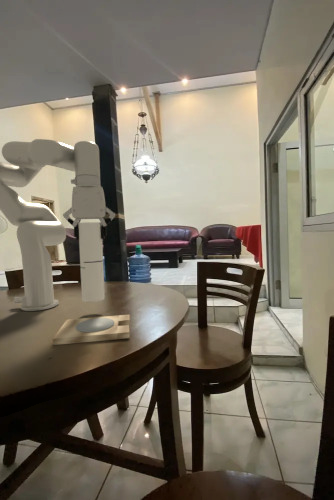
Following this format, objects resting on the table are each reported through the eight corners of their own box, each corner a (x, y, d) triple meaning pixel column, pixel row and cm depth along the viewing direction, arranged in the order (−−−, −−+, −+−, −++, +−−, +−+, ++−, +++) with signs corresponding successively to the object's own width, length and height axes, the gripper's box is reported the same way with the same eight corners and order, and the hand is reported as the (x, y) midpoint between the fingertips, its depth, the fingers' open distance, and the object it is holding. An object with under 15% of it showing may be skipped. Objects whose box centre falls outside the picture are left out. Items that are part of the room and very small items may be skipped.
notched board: (52, 345, 62) (52, 337, 62) (67, 324, 76) (66, 318, 75) (129, 338, 64) (129, 330, 64) (129, 319, 78) (129, 313, 78)
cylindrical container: (98, 302, 81) (95, 222, 79) (77, 301, 83) (73, 222, 81) (108, 296, 88) (105, 222, 86) (88, 296, 90) (85, 223, 88)
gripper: (56, 181, 78) (59, 240, 79) (115, 181, 80) (117, 238, 81) (62, 185, 85) (65, 239, 86) (116, 185, 87) (118, 238, 89)
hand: (90, 238), depth 84 cm, fingers closed on cylindrical container, 7 cm apart
